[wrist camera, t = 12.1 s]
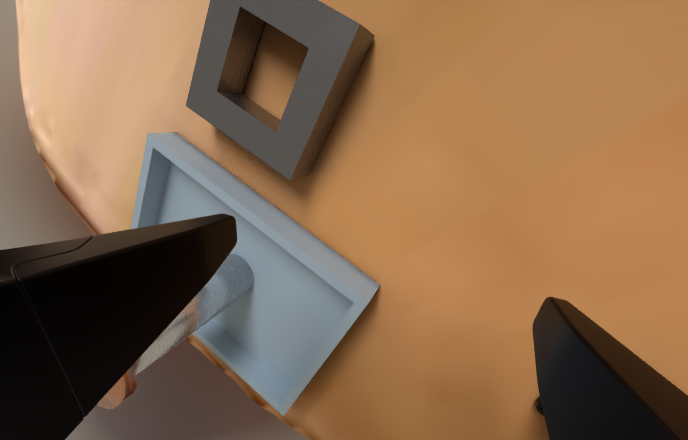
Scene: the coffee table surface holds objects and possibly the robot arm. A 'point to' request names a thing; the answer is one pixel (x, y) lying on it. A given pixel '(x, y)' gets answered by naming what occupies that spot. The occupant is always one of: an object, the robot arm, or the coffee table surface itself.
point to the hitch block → (309, 90)
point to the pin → (188, 321)
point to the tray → (257, 272)
